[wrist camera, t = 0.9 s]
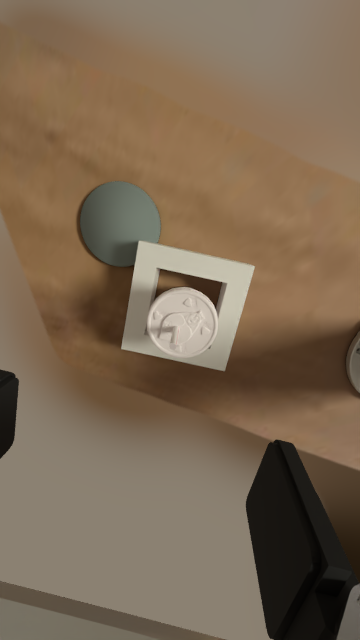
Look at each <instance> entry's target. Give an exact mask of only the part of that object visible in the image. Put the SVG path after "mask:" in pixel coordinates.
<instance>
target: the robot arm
mask: <svg viewBox="0 0 360 640" xmlns="http://www.w3.org/2000/svg"><path fill="white" fill-rule="evenodd" d="M346 370H347V375H348V378H349V380H350V382H351V384H352V385H353V387H354V388H355V389H356V390H357V391H358V392H359V393H360V331H359V332H358V334H357V335H356V337H355V338H354V339H353V341H352V343H351V345H350V347H349V350H348V354H347V357H346ZM18 385H19V380H18V379H17V378H15V374H14V373H12V372H8V371H3V370H0V458H1V457H2V456H3V455H4V454H5V453H6V452H7V451H8V450H9V449H10V447H11V446H12V444H13V441H14V436H15V422H16V410H17V397H18ZM246 512H247V517H248V523H249V529H250V535H251V541H252V546H253V553H254V558H255V564H256V570H257V576H258V582H259V588H260V594H261V599H262V605H263V611H264V617H265V623H266V628H267V633H268V635H269V637H270V639H274V640H360V584H359V582H358V580H357V578H356V576H355V573H354V571H353V569H352V567H351V565H350V563H349V561H348V558H347V556H346V554H345V552H344V550H343V548H342V546H341V543H340V542H339V539H338V537H337V535H336V533H335V531H334V528H333V526H332V524H331V522H330V520H329V518H328V516H327V513H326V511H325V509H324V507H323V505H322V503H321V501H320V498H319V497H318V495H317V493H316V492H315V490H314V487H313V485H312V483H311V481H310V479H309V476H308V474H307V472H306V470H305V468H304V466H303V463H302V461H301V459H300V457H299V455H298V453H297V451H296V448H295V446H294V445H293V444H292V443H289V442H285V441H281V440H275V441H274V443H272V442H270V443H269V444H268V447H267V449H266V451H265V454H264V456H263V459H262V461H261V464H260V466H259V469H258V472H257V474H256V476H255V479H254V482H253V484H252V487H251V489H250V491H249V494H248V496H247V501H246ZM0 640H225V639H221V638H218V637H214V636H210V635H206V634H202V633H199V632H195V631H191V630H187V629H183V628H180V627H176V626H172V625H168V624H164V623H161V622H157V621H153V620H149V619H146V618H142V617H138V616H134V615H131V614H127V613H123V612H118V611H115V610H111V609H107V608H103V607H99V606H95V605H92V604H88V603H84V602H80V601H76V600H72V599H68V598H65V597H60V596H57V595H53V594H48V593H45V592H41V591H37V590H33V589H29V588H25V587H21V586H17V585H14V584H9V583H6V582H2V581H0Z"/></svg>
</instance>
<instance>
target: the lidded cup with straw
mask: <svg viewBox="0 0 360 640" xmlns="http://www.w3.org/2000/svg"><path fill="white" fill-rule="evenodd" d="M217 330H218V316H217V312H216V309H215V307H214V305H213V303H212V302H211V301H210V299H209V298H208V297H207V296H205V295H204V294H203V293H201V292H200V291H197V290H195V289H192V288H190V287H179V288H172V289H170V290H168V291H165V292H163V293H162V294H161V295H160V296H158V297H157V298H156V299H155V301H154V302H153V303H152V305H151V307H150V310H149V312H148V315H147V331H148V335H149V337H150V339H151V341H152V342H153V344H154V345H155V346H156V347H157V348H158V349H159V350H160V351H162V352H163V353H165V354H167V355H169V356H172V357H176V358H189V357H194V356H196V355H199V354H201V353H202V352H204V351H205V350H206V349H207V348H208V347H209V346H210V345H211V344H212V343H213V341H214V339H215V337H216V334H217Z"/></svg>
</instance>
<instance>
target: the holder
mask: <svg viewBox="0 0 360 640" xmlns="http://www.w3.org/2000/svg"><path fill="white" fill-rule="evenodd" d="M160 268H161V269H165V270H170V271H174V272H179V273H184V274H188V275H193V276H197V277H202V278H206V279H211V280H215V281H220V282H222V286H221V290H220V294H219V298H218V302H217V305H216V312H217V316H218V330H217V334H216V337H215V339H214V341H213V343H212V344H211V345H210V346H209V347H208V348H207V349H206V350H205V351H204V352H202V353H201V354H199V355H196V356H194V357H189V358H176V357H172V356H169V355H167V354H165V353H163V352H162V351H160V350H159V349H158V348H157V347H156V346H155V345H154V344H153V342H152V341H151V339H150V337H149V335H148V331H147V315H148V312H149V310H150V307H151V305H152V303H153V302H154V299H155V294H156V288H157V283H158V278H159V273H160ZM254 268H255V266H253V265H250V264H248V263H244V262H239V261H235V260H230V259H226V258H221V257H217V256H212V255H208V254H203V253H199V252H194V251H190V250H185V249H181V248H176V247H172V246H167V245H163V244H158V243H153V242H148V241H139V243H138V249H137V255H136V261H135V267H134V273H133V279H132V285H131V292H130V298H129V304H128V310H127V316H126V322H125V328H124V334H123V340H122V346H121V349H125V350H129V351H134V352H138V353H143V354H147V355H152V356H157V357H161V358H166V359H170V360H175V361H180V362H184V363H189V364H193V365H198V366H203V367H207V368H212V369H216V370H221V371H225V369H226V365H227V362H228V358H229V355H230V351H231V348H232V344H233V341H234V337H235V334H236V330H237V327H238V323H239V320H240V316H241V313H242V309H243V306H244V302H245V299H246V296H247V292H248V289H249V285H250V282H251V278H252V275H253V271H254Z"/></svg>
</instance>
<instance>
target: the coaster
mask: <svg viewBox="0 0 360 640" xmlns="http://www.w3.org/2000/svg"><path fill="white" fill-rule="evenodd" d="M80 226H81V232H82V236H83V239H84V241H85V243H86V245H87V246H88V248H89V249H90V251H91V252H92V253H93V254H94V255H95V256H96V257H97V258H99V259H100V260H102V261H103V262H105V263H107V264H110V265H113V266H119V267H125V266H131V265H135V261H136V255H137V249H138V243H139V241H148V242H153V243H158V240H159V237H160V231H161V222H160V216H159V213H158V210H157V208H156V206H155V204H154V202H153V201H152V199H151V198H150V197H149V196H148V195H147V194H146V193H145V192H144V191H143V190H142V189H140V188H139V187H137V186H135V185H133V184H130V183H127V182H121V181H115V182H109V183H105V184H103V185H101V186H99V187H98V188H96V189H95V190H94V191H93V192H91V194H90V195H89V196H88V197H87V199H86V201H85V203H84V205H83V208H82V211H81V216H80Z"/></svg>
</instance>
